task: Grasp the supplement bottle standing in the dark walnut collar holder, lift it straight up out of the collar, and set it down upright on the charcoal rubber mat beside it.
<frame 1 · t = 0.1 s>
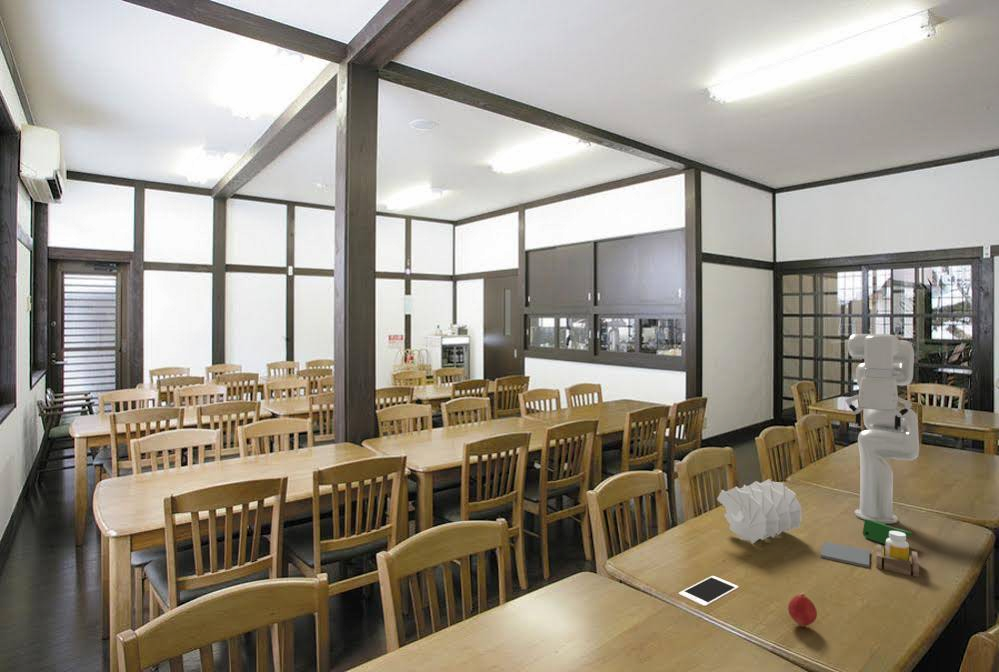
hand: (877, 427, 171), 37 cm above the table, tool pointing down, fingers open, 9 cm apart
collar holder: (896, 565, 155), on the table
rubber mat: (845, 555, 162), on the table
onion: (802, 627, 125), on the table
cell phone: (709, 592, 141), on the table
supplement bottle: (896, 566, 155), resting in collar holder
clamp: (887, 542, 171), on the table
white origami shape: (761, 536, 177), on the table
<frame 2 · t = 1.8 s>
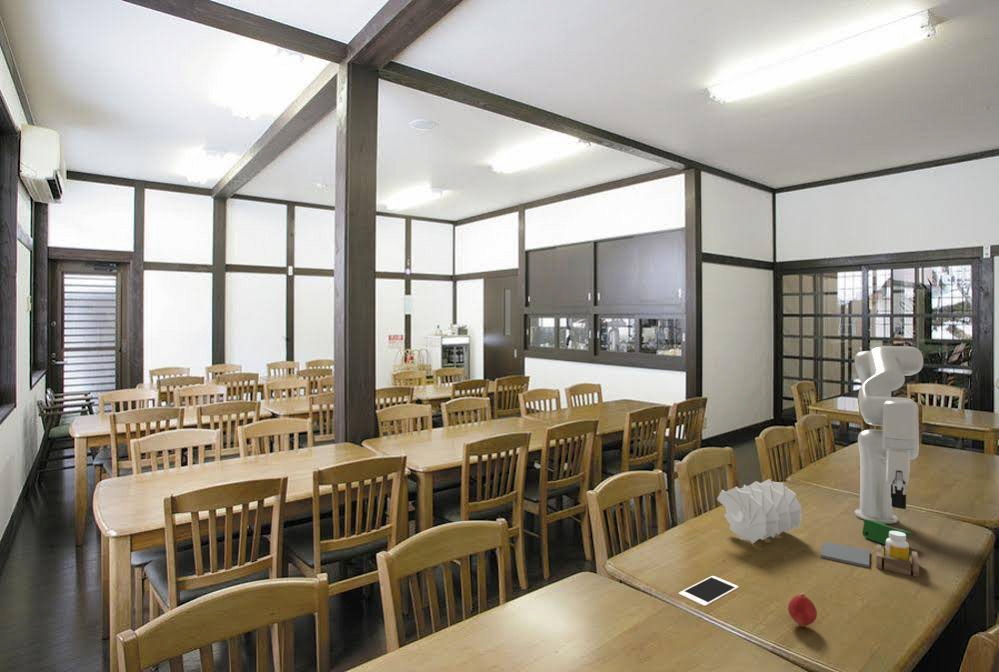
hand: (898, 503, 154), 18 cm above the table, tool pointing down, fingers open, 9 cm apart
nothing on the table moved.
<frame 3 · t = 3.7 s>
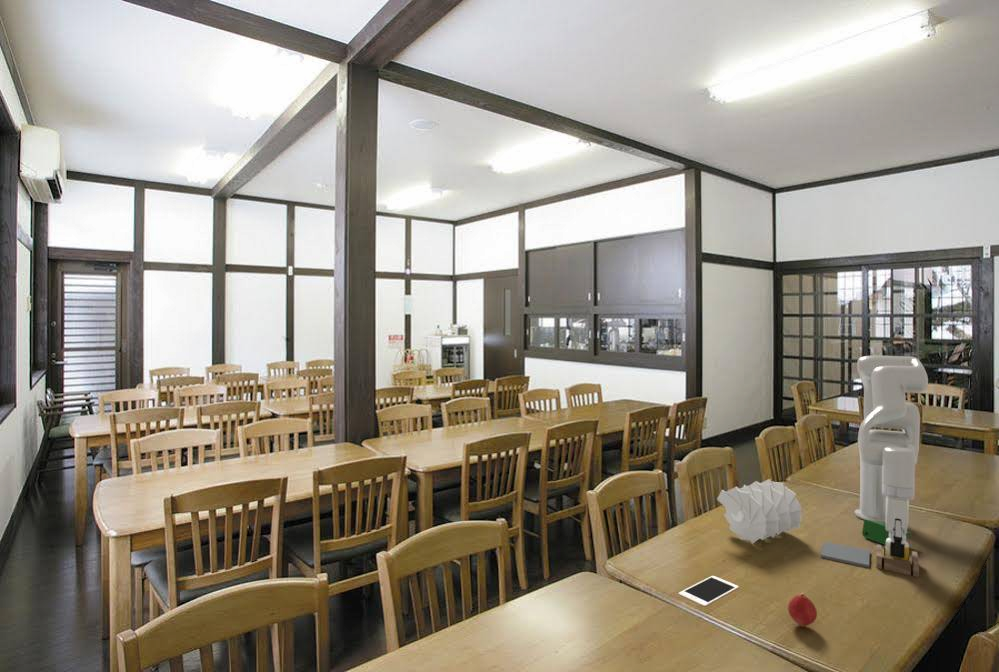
hand: (896, 552, 154), 4 cm above the table, tool pointing down, fingers closed on supplement bottle, 5 cm apart
supplement bottle: (896, 566, 155), resting in collar holder, touching gripper
everything else where it was.
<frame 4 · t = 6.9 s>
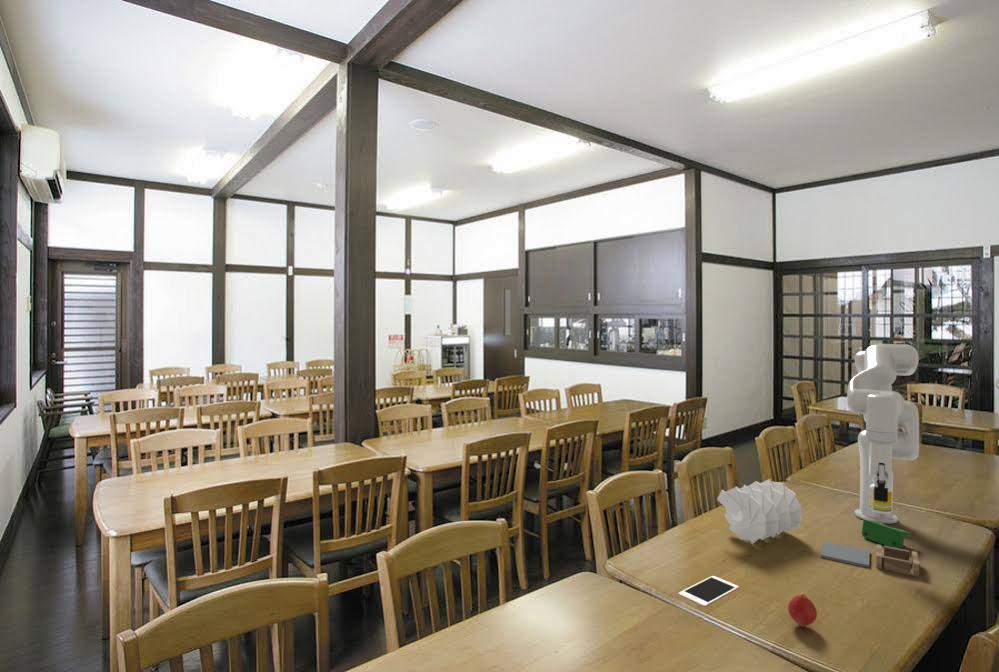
hand: (880, 497, 156), 19 cm above the table, tool pointing down, fingers closed on supplement bottle, 5 cm apart
supplement bottle: (880, 511, 157), point 15 cm above the table, touching gripper
everything else where it was.
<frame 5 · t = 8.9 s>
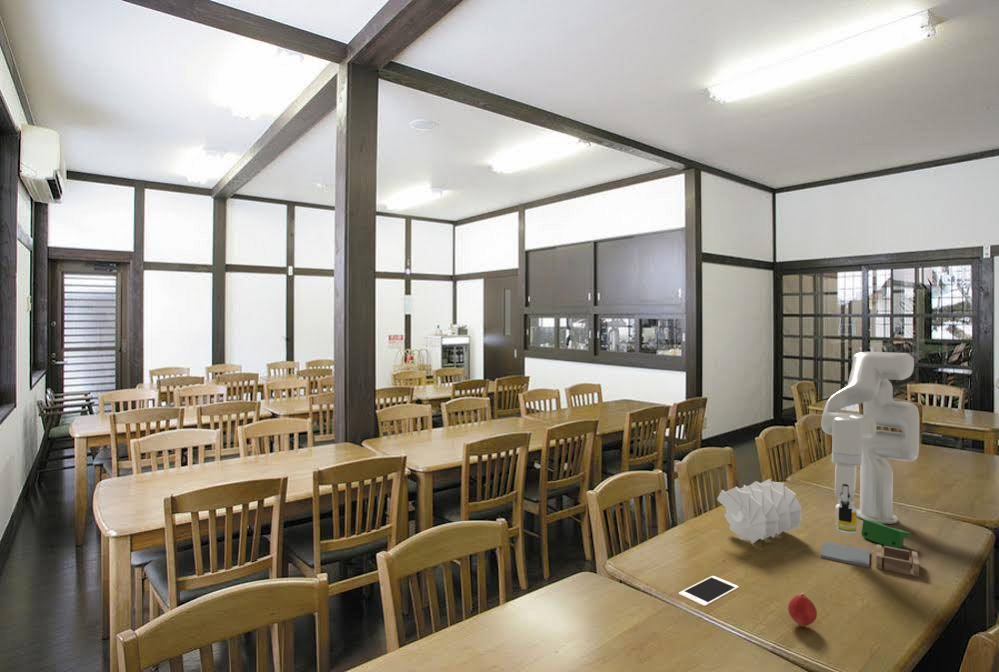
hand: (845, 517, 161), 12 cm above the table, tool pointing down, fingers closed on supplement bottle, 5 cm apart
supplement bottle: (845, 531, 161), point 7 cm above the table, touching gripper
everything else where it was.
when the fingers open (6 cm above the table, at t = 10.3 s): supplement bottle drops 1 cm, resting on rubber mat.
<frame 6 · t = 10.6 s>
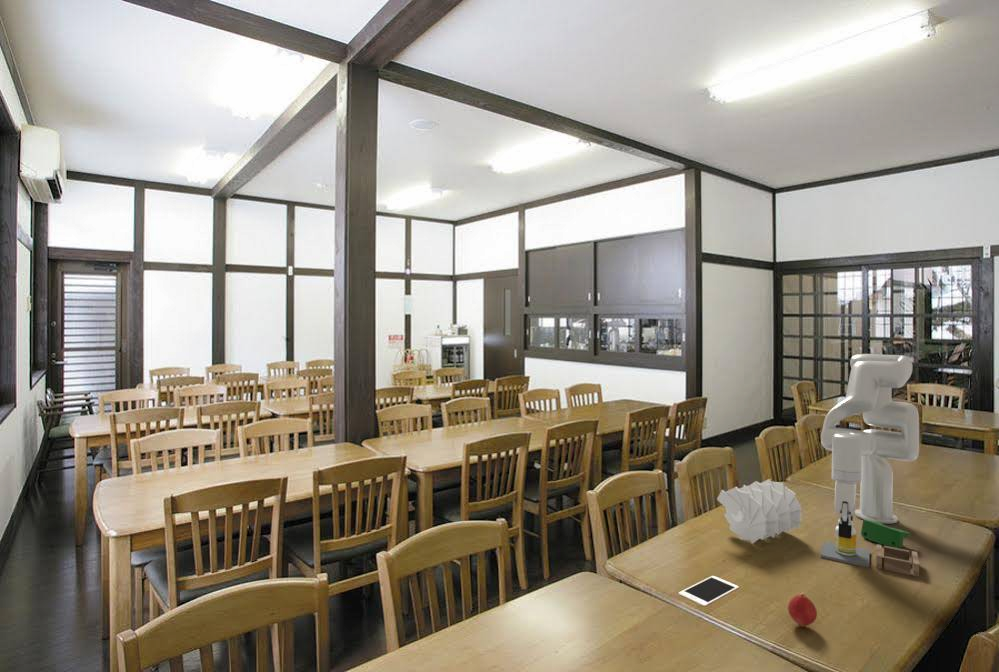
hand: (845, 532, 162), 7 cm above the table, tool pointing down, fingers open, 8 cm apart
supplement bottle: (845, 553, 162), point 1 cm above the table, touching rubber mat
everything else where it was.
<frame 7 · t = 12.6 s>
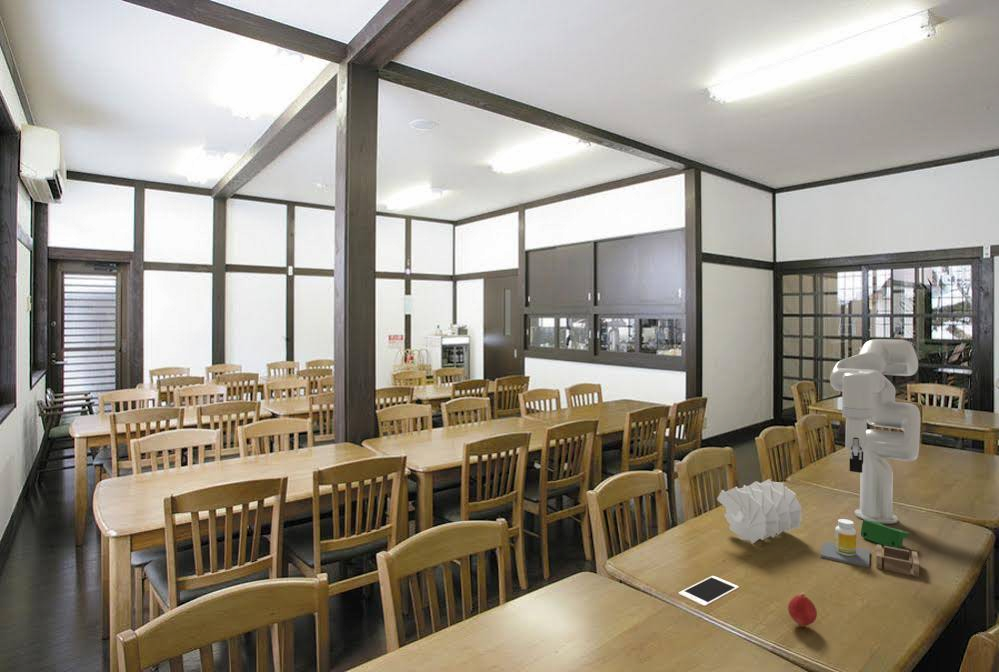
hand: (856, 467, 165), 26 cm above the table, tool pointing down, fingers open, 9 cm apart
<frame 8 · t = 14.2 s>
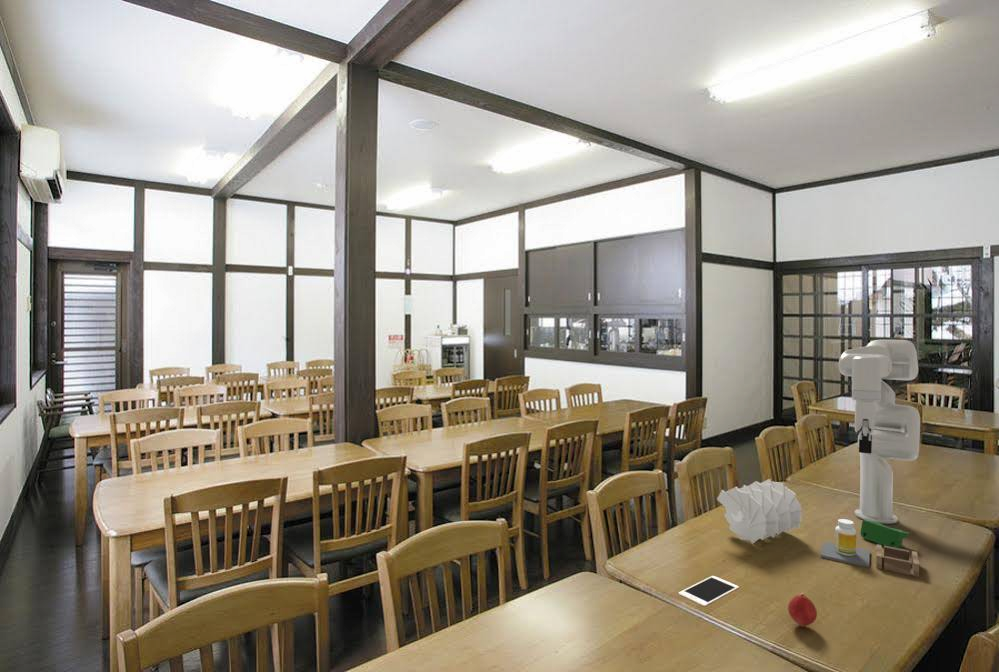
hand: (865, 449, 168), 30 cm above the table, tool pointing down, fingers open, 9 cm apart
at the end: supplement bottle inside the target area on the rubber mat (0.1 cm from its centre), point 0.6 cm above the rubber mat's base; supplement bottle tilted 0°; the gripper is holding nothing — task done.
